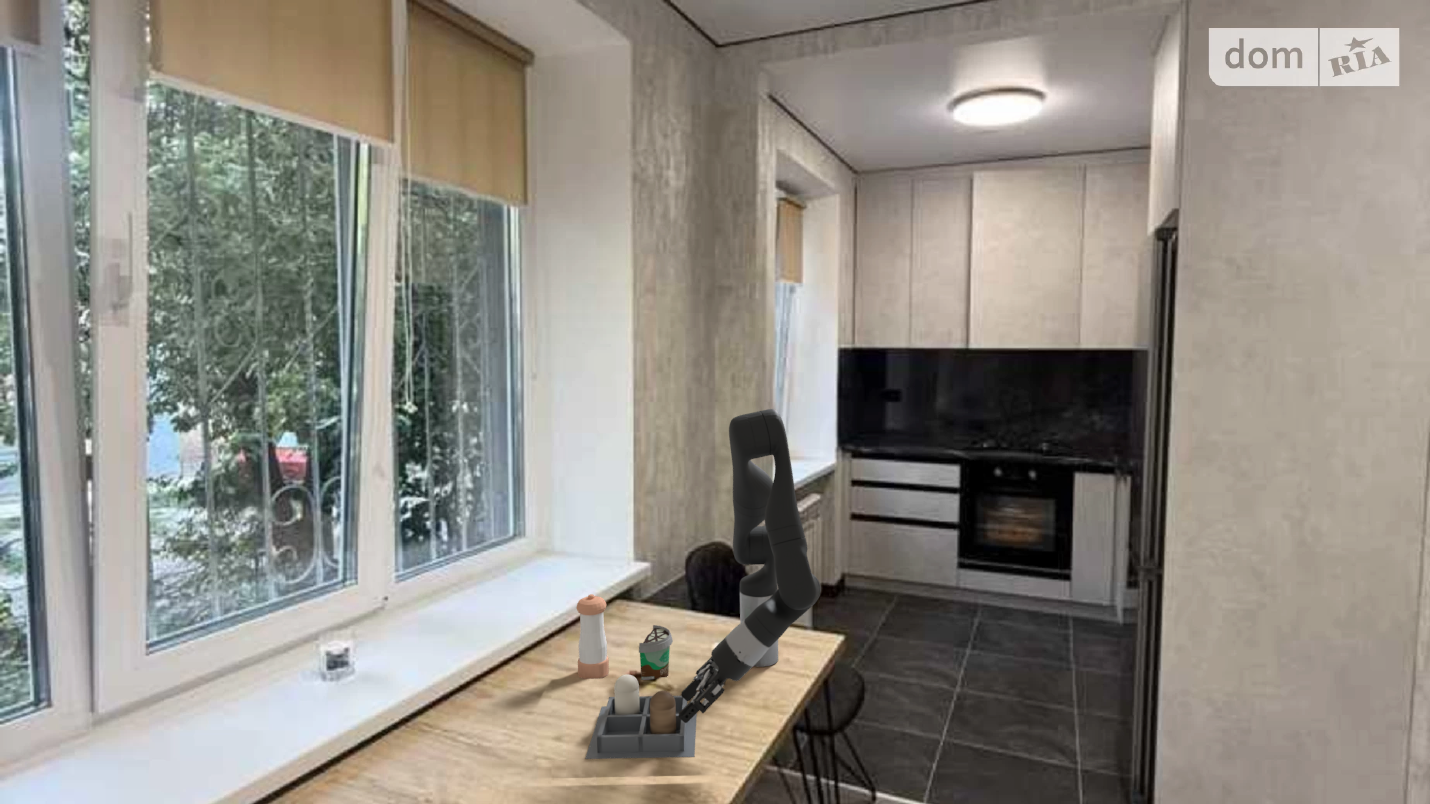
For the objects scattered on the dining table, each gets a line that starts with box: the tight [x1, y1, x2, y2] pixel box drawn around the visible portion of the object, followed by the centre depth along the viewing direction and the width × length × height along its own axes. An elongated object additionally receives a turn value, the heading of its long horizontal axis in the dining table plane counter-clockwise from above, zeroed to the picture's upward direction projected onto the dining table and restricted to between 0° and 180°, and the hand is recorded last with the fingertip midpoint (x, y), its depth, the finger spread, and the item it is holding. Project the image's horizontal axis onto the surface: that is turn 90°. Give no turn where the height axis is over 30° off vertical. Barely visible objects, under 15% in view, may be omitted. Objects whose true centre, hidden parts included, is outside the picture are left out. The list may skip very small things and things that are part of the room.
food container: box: [638, 624, 673, 681], centre depth 176 cm, size 12×6×10 cm, turn 168°
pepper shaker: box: [575, 594, 610, 680], centre depth 178 cm, size 7×7×19 cm
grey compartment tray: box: [584, 695, 698, 760], centre depth 149 cm, size 20×20×4 cm
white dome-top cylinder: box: [613, 673, 640, 715], centre depth 153 cm, size 5×5×10 cm
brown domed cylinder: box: [650, 690, 676, 734], centre depth 145 cm, size 5×5×10 cm
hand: (683, 708), depth 145 cm, fingers open, 8 cm apart
